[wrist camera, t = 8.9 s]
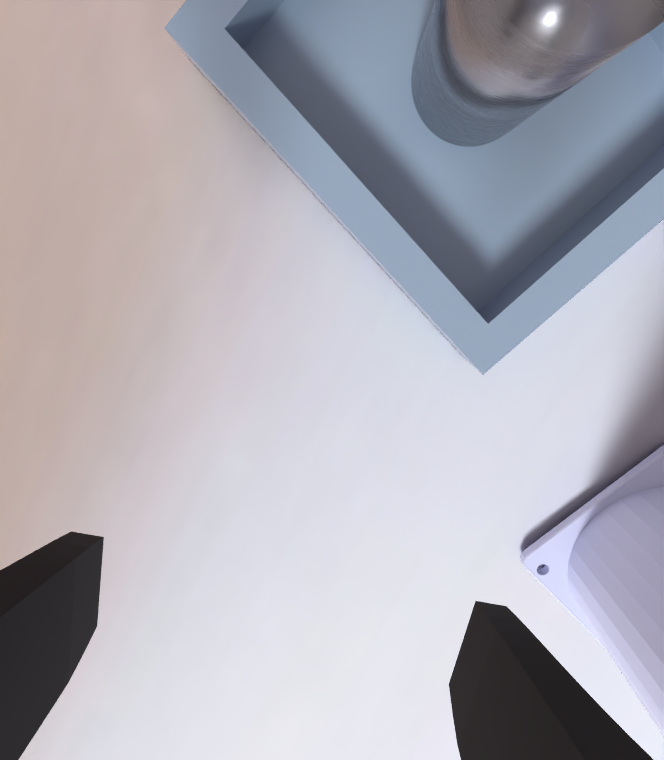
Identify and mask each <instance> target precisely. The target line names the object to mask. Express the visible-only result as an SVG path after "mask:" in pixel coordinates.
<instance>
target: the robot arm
mask: <svg viewBox="0 0 664 760" xmlns="http://www.w3.org/2000/svg"><path fill="white" fill-rule="evenodd" d="M103 539H104V537H100V536H94V535H88V534H82V533H76V532H70V533H68V534H66V535H64V536H62V537H60V538H58V539H56V540H54V541H52V542H51V543H49V544H47V545H45V546H43V547H42V548H40V549H38V550H36V551H34V552H33V553H31V554H29V555H27V556H25V557H24V558H22V559H20V560H18V561H16V562H15V563H13V564H11V565H9V566H8V567H6V568H4V569H2V570H0V760H18V759H19V758H20V756H21V755H22V753H23V752H24V750H25V749H26V747H27V746H28V744H29V743H30V741H31V740H32V738H33V736H34V735H35V733H36V732H37V730H38V729H39V727H40V726H41V724H42V723H43V721H44V720H45V718H46V716H47V715H48V713H49V712H50V710H51V709H52V707H53V706H54V704H55V703H56V701H57V699H58V698H59V696H60V695H61V693H62V692H63V690H64V688H65V687H66V685H67V684H68V682H69V680H70V678H71V676H72V675H73V673H74V671H75V669H76V667H77V665H78V663H79V661H80V659H81V657H82V655H83V653H84V651H85V649H86V647H87V645H88V643H89V641H90V639H91V637H92V635H93V633H94V631H95V629H96V627H97V619H98V606H99V592H100V579H101V566H102V552H103ZM520 558H521V562H522V564H523V565H524V567H525V569H526V570H527V571H528V572H529V573H530V574H531V575H532V576H533V577H534V578H535V579H536V580H537V581H538V582H539V583H540V584H541V585H542V586H543V587H544V588H545V589H546V590H547V591H548V592H549V593H550V594H551V595H552V596H553V597H554V598H555V599H556V600H557V601H558V602H559V603H560V604H561V605H562V606H563V607H564V608H565V609H566V610H567V611H568V612H569V613H570V614H571V615H572V616H573V617H574V618H575V619H576V620H577V621H578V622H579V623H580V624H581V625H582V626H583V627H584V628H585V629H586V630H587V631H588V632H589V633H590V634H591V635H592V636H593V637H594V638H595V639H596V640H597V641H598V642H599V643H600V644H601V645H602V646H603V647H604V648H605V649H606V650H607V652H608V653H609V655H610V656H611V658H612V659H613V661H614V662H615V664H616V665H617V667H618V668H619V670H620V671H621V673H622V674H623V676H624V677H625V679H626V680H627V682H628V683H629V685H630V686H631V688H632V689H633V691H634V692H635V694H636V695H637V697H638V698H639V700H640V701H641V703H642V704H643V706H644V707H645V709H646V710H647V712H648V713H649V715H650V716H651V718H652V719H653V721H654V722H655V724H656V725H657V727H658V728H659V730H660V731H661V733H662V735H663V736H664V445H663V446H661V447H660V448H659V449H657V450H656V451H655V452H653V453H652V454H651V455H649V456H648V457H647V458H645V459H644V460H643V461H641V462H640V463H639V464H637V465H636V466H635V467H633V468H632V469H631V470H629V471H628V472H627V473H626V474H624V475H623V476H622V477H620V478H619V479H618V480H616V481H615V482H614V483H612V484H611V485H610V486H608V487H607V488H606V489H604V490H603V491H602V492H600V493H599V494H598V495H596V496H595V497H594V498H592V499H591V500H590V501H588V502H587V503H586V504H585V505H583V506H582V507H581V508H579V509H578V510H577V511H575V512H574V513H573V514H571V515H570V516H569V517H567V518H566V519H565V520H563V521H562V522H561V523H559V524H558V525H557V526H555V527H554V528H553V529H551V530H550V531H549V532H547V533H546V534H545V535H544V536H542V537H541V538H540V539H538V540H537V541H536V542H534V543H533V544H532V545H530V546H529V547H528V548H526V549H525V550H524V551H523V552H522V554H521V556H520ZM542 564H545V566H544V567H543V568H541V569H537V567H538V566H539V565H542ZM449 688H450V696H451V704H452V711H453V718H454V725H455V731H456V738H457V744H458V748H459V752H460V757H461V760H653V759H652V758H651V757H650V756H649V755H648V754H647V753H646V752H645V751H644V750H643V749H642V748H641V747H640V746H639V745H638V744H637V743H636V742H635V741H634V740H633V739H632V738H631V737H630V736H629V735H628V734H627V733H626V732H625V731H624V730H623V729H622V728H621V727H620V726H619V725H618V724H617V723H616V722H615V721H614V720H613V719H612V718H611V717H610V716H609V715H608V714H607V713H606V712H605V711H604V710H603V709H602V708H601V707H600V706H599V704H598V703H597V702H596V701H595V700H594V699H593V698H592V697H591V696H590V695H589V694H588V693H587V692H586V691H585V690H584V689H583V688H582V687H581V685H580V684H579V683H578V682H577V681H576V680H575V679H574V678H573V677H572V676H571V675H570V674H569V673H568V672H567V670H566V669H565V668H564V667H563V666H562V665H561V664H560V663H559V662H558V661H557V660H556V658H555V657H554V656H553V655H552V654H551V653H550V652H549V651H548V650H547V649H546V648H545V647H544V645H543V644H542V643H541V642H540V641H539V640H538V639H537V638H536V637H535V636H534V635H533V633H532V632H531V631H530V630H529V629H528V628H527V627H526V626H525V625H524V624H523V623H522V622H521V621H520V620H519V619H518V618H517V616H516V615H515V614H514V613H513V612H512V611H511V610H510V609H508V608H507V607H506V606H501V605H496V604H490V603H484V602H478V601H476V602H475V605H474V608H473V611H472V614H471V617H470V620H469V623H468V627H467V630H466V633H465V636H464V639H463V642H462V645H461V648H460V651H459V655H458V658H457V661H456V664H455V667H454V670H453V673H452V676H451V679H450V683H449Z"/></svg>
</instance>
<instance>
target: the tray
mask: <svg viewBox="0 0 664 760" xmlns="http://www.w3.org/2000/svg"><path fill="white" fill-rule="evenodd" d="M435 1H436V0H186V2H185V3H184V4H183V5H182V6H181V8H180V9H179V10H178V11H177V13H176V14H175V15H174V16H173V18H172V19H171V20H170V21H169V23H168V24H167V25H166V26H165V29H166V31H167V32H168V33H169V34H170V36H171V37H172V38H173V39H174V41H175V42H176V43H177V45H178V46H179V47H180V48H181V50H182V51H183V52H184V53H185V55H186V56H187V57H188V58H189V60H190V61H191V62H192V63H193V64H194V65H195V66H196V67H197V69H198V70H199V71H200V72H201V73H202V74H203V75H204V76H205V77H206V78H207V79H208V80H209V82H210V83H211V84H212V85H213V86H214V87H215V88H216V89H217V90H218V91H219V92H220V94H221V95H222V96H223V97H224V98H225V99H226V100H227V101H228V102H229V103H230V104H231V105H232V107H233V108H234V109H235V110H236V111H237V112H238V113H239V114H240V115H241V116H242V117H243V119H244V120H245V121H246V122H247V123H248V124H249V125H250V126H251V127H252V128H253V129H254V130H255V132H256V133H257V134H258V135H259V136H260V137H261V138H262V139H263V140H264V141H265V142H266V143H267V145H268V146H269V147H270V148H271V149H272V150H273V151H274V152H275V153H276V154H277V155H278V157H279V158H280V159H281V160H282V161H283V162H284V163H285V164H286V165H287V166H288V167H289V168H290V170H291V171H292V172H293V173H294V174H295V175H296V176H297V177H298V178H299V179H300V180H301V181H302V183H303V184H304V185H305V186H306V187H307V188H308V189H309V190H310V191H311V192H312V193H313V195H314V196H315V197H316V198H317V199H318V200H319V201H320V202H321V203H322V204H323V205H324V206H325V208H326V209H327V210H328V211H329V212H330V213H331V214H332V215H333V216H334V217H335V218H336V220H337V221H338V222H339V223H340V224H341V225H342V226H343V227H344V228H345V229H346V230H347V231H348V233H349V234H350V235H351V236H352V237H353V238H354V239H355V240H356V241H357V242H358V243H359V244H360V246H361V247H362V248H363V249H364V250H365V251H366V252H367V253H368V254H369V255H370V256H371V258H372V259H373V260H374V261H375V262H376V263H377V264H378V265H379V266H380V267H381V268H382V269H383V271H384V272H385V273H386V274H387V275H388V276H389V277H390V278H391V279H392V280H393V281H394V282H395V284H396V285H397V286H398V287H399V288H400V289H401V290H402V291H403V292H404V293H405V294H406V296H407V297H408V298H409V299H410V300H411V301H412V302H413V303H414V304H415V305H416V306H417V307H418V309H419V310H420V311H421V312H422V313H423V314H424V315H425V316H426V317H427V318H428V319H429V320H430V322H431V323H432V324H433V325H434V326H435V327H436V328H437V329H438V330H439V331H440V332H441V334H442V335H443V336H444V337H445V338H446V339H447V340H448V341H449V342H450V343H451V344H452V345H453V347H454V348H455V349H456V350H457V351H458V352H459V353H460V354H461V355H462V356H463V357H464V358H465V359H466V360H467V361H468V362H469V363H470V364H471V365H472V366H474V367H475V368H476V369H477V370H478V371H479V372H480V373H482V374H484V373H486V372H487V371H488V370H489V369H490V368H491V367H493V366H494V365H495V364H496V363H497V362H498V361H500V360H501V359H502V358H503V357H504V356H505V355H506V354H508V353H509V352H510V351H511V350H512V349H513V348H515V347H516V346H517V345H518V344H519V343H520V342H522V341H523V340H524V339H525V338H526V337H527V336H529V335H530V334H531V333H532V332H533V331H534V330H535V329H537V328H538V327H539V326H540V325H541V324H542V323H544V322H545V321H546V320H547V319H548V318H549V317H551V316H552V315H553V314H554V313H555V312H556V311H557V310H559V309H560V308H561V307H562V306H563V305H564V304H566V303H567V302H568V301H569V300H570V299H571V298H573V297H574V296H575V295H576V294H577V293H578V292H580V291H581V290H582V289H583V288H584V287H585V286H586V285H588V284H589V283H590V282H591V281H592V280H593V279H595V278H596V277H597V276H598V275H599V274H600V273H602V272H603V271H604V270H605V269H606V268H607V267H609V266H610V265H611V264H612V263H613V262H614V261H615V260H617V259H618V258H619V257H620V256H621V255H622V254H624V253H625V252H626V251H627V250H628V249H629V248H631V247H632V246H633V245H634V244H635V243H636V242H637V241H639V240H640V239H641V238H642V237H643V236H644V235H646V234H647V233H648V232H649V231H650V230H651V229H653V228H654V227H655V226H656V225H657V224H658V223H660V222H661V221H662V220H663V219H664V21H663V22H662V23H661V24H660V25H658V26H657V27H656V28H654V29H653V30H652V31H650V32H649V33H647V34H646V35H645V36H643V37H642V38H640V39H639V40H638V41H636V42H635V43H633V44H632V45H631V46H629V47H628V48H626V49H625V50H623V51H622V52H621V53H619V54H618V55H616V56H615V57H614V58H612V59H611V60H609V61H608V62H607V63H605V64H604V65H602V66H601V67H600V68H598V69H597V70H595V71H594V72H593V73H591V74H590V75H588V76H587V77H585V78H584V79H583V80H581V81H580V82H578V83H577V84H576V85H574V86H573V87H571V88H570V89H569V90H567V91H566V92H564V93H563V94H562V95H560V96H559V97H557V98H556V99H555V100H553V101H552V102H550V103H549V104H547V105H546V106H545V107H543V108H542V109H540V110H539V111H538V112H536V113H535V114H533V115H532V116H531V117H529V118H528V119H526V120H525V121H524V122H522V123H521V124H519V125H518V126H517V127H515V128H514V129H512V130H511V131H509V132H508V133H507V134H505V135H504V136H502V137H500V138H499V139H497V140H495V141H493V142H491V143H488V144H484V145H480V146H474V147H464V146H457V145H454V144H450V143H448V142H446V141H443V140H442V139H440V138H439V137H437V136H436V135H435V134H433V133H432V132H431V131H430V130H429V129H428V128H427V127H426V126H425V124H424V123H423V121H422V120H421V118H420V116H419V114H418V112H417V110H416V107H415V104H414V101H413V96H412V89H411V75H412V67H413V63H414V59H415V56H416V53H417V50H418V48H419V45H420V42H421V39H422V37H423V34H424V31H425V28H426V26H427V23H428V20H429V17H430V14H431V12H432V9H433V6H434V3H435Z"/></svg>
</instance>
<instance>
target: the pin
mask: <svg viewBox="0 0 664 760" xmlns="http://www.w3.org/2000/svg"><path fill="white" fill-rule="evenodd" d="M663 21H664V0H436V1H435V3H434V6H433V9H432V12H431V14H430V17H429V20H428V23H427V26H426V28H425V31H424V34H423V37H422V39H421V42H420V45H419V48H418V50H417V53H416V56H415V59H414V63H413V67H412V75H411V89H412V96H413V101H414V104H415V107H416V110H417V112H418V114H419V116H420V118H421V120H422V121H423V123H424V124H425V126H426V127H427V128H428V129H429V130H430V131H431V132H432V133H433V134H435V135H436V136H437V137H439V138H440V139H442V140H443V141H446V142H448V143H450V144H454V145H457V146H464V147H474V146H480V145H484V144H488V143H491V142H493V141H495V140H497V139H499V138H500V137H502V136H504V135H505V134H507V133H508V132H509V131H511V130H512V129H514V128H515V127H517V126H518V125H519V124H521V123H522V122H524V121H525V120H526V119H528V118H529V117H531V116H532V115H533V114H535V113H536V112H538V111H539V110H540V109H542V108H543V107H545V106H546V105H547V104H549V103H550V102H552V101H553V100H555V99H556V98H557V97H559V96H560V95H562V94H563V93H564V92H566V91H567V90H569V89H570V88H571V87H573V86H574V85H576V84H577V83H578V82H580V81H581V80H583V79H584V78H585V77H587V76H588V75H590V74H591V73H593V72H594V71H595V70H597V69H598V68H600V67H601V66H602V65H604V64H605V63H607V62H608V61H609V60H611V59H612V58H614V57H615V56H616V55H618V54H619V53H621V52H622V51H623V50H625V49H626V48H628V47H629V46H631V45H632V44H633V43H635V42H636V41H638V40H639V39H640V38H642V37H643V36H645V35H646V34H647V33H649V32H650V31H652V30H653V29H654V28H656V27H657V26H658V25H660V24H661V23H662V22H663Z"/></svg>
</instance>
